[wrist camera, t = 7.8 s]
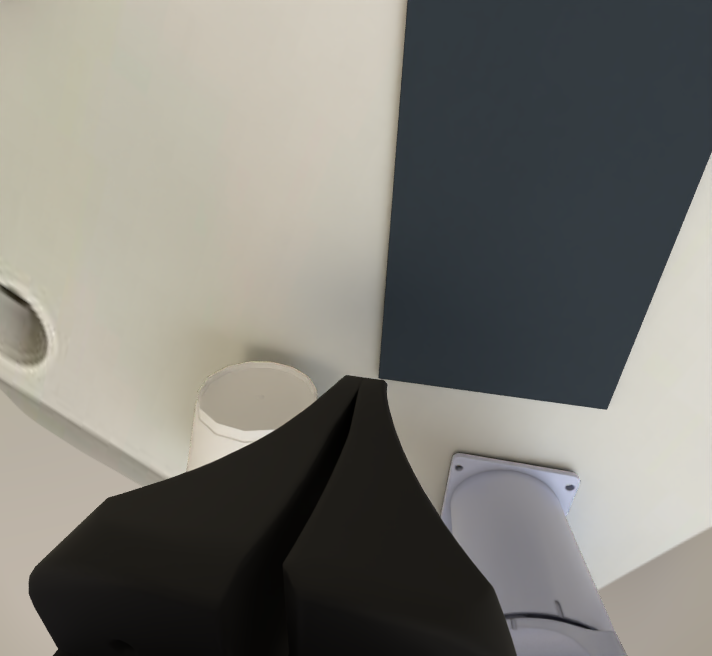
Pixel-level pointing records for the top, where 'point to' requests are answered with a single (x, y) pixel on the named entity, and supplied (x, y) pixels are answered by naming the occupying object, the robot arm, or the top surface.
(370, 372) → the top surface
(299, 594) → the robot arm
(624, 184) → the rubber mat
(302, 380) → the foam cup
